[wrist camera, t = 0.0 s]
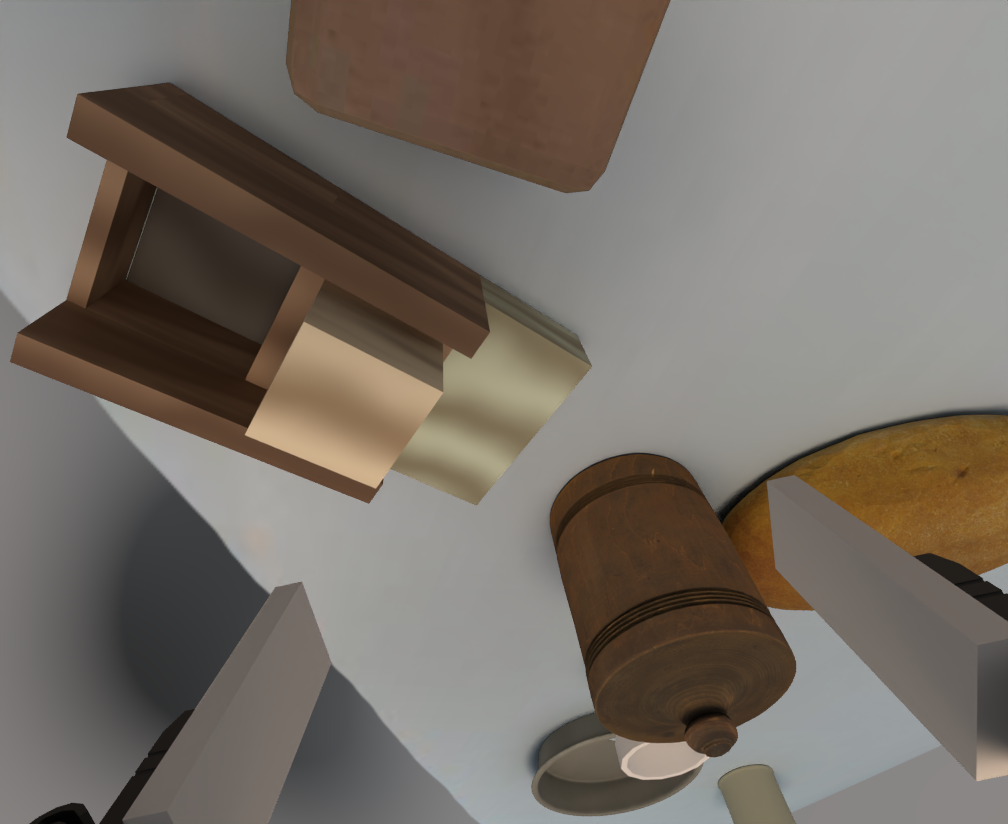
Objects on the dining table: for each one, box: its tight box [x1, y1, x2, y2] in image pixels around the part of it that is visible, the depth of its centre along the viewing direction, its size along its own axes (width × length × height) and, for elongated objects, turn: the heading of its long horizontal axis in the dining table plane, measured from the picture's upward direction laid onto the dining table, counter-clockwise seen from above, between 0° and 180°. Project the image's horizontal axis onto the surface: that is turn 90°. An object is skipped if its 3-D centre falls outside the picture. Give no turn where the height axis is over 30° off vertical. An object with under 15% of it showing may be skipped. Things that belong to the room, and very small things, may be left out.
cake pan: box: [531, 713, 704, 816], centre depth 79 cm, size 25×25×4 cm
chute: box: [10, 83, 592, 505], centre depth 36 cm, size 15×30×10 cm, turn 56°
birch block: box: [245, 279, 444, 488], centre depth 33 cm, size 8×8×7 cm
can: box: [718, 765, 796, 824], centre depth 86 cm, size 9×9×12 cm
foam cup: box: [615, 734, 709, 780], centre depth 60 cm, size 10×9×13 cm
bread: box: [722, 415, 1008, 611], centre depth 51 cm, size 18×35×10 cm, turn 110°
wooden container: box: [550, 454, 796, 757], centre depth 44 cm, size 15×15×22 cm
